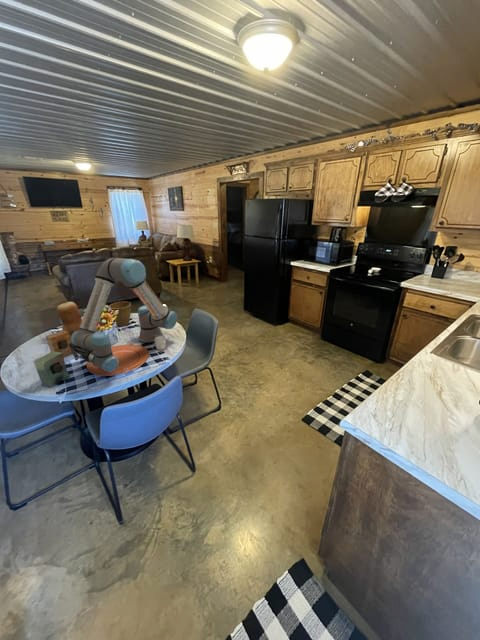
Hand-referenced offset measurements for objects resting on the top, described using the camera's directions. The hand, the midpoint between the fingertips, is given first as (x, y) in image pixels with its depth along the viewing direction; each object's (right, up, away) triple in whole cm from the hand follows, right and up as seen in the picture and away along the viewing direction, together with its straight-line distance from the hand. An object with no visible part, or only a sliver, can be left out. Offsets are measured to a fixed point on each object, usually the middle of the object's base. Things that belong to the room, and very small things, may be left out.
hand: (70, 345), depth 148 cm
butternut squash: (-17, +2, +33) cm, 37 cm away
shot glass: (+45, -3, +19) cm, 49 cm away
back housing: (-11, -7, +11) cm, 17 cm away
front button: (+4, -12, -16) cm, 20 cm away
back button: (-8, -2, +7) cm, 11 cm away
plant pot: (+6, +11, +52) cm, 54 cm away
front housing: (+1, -17, -13) cm, 21 cm away
